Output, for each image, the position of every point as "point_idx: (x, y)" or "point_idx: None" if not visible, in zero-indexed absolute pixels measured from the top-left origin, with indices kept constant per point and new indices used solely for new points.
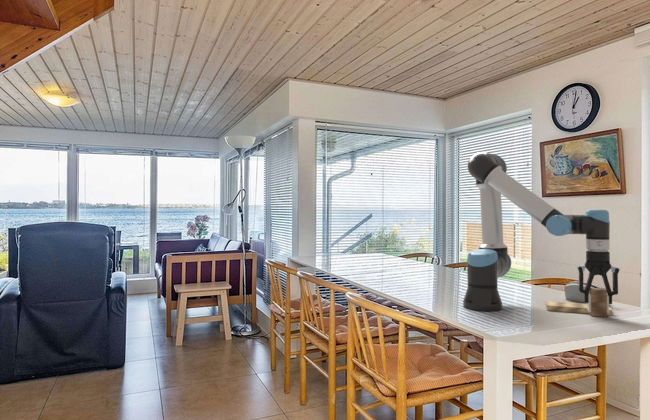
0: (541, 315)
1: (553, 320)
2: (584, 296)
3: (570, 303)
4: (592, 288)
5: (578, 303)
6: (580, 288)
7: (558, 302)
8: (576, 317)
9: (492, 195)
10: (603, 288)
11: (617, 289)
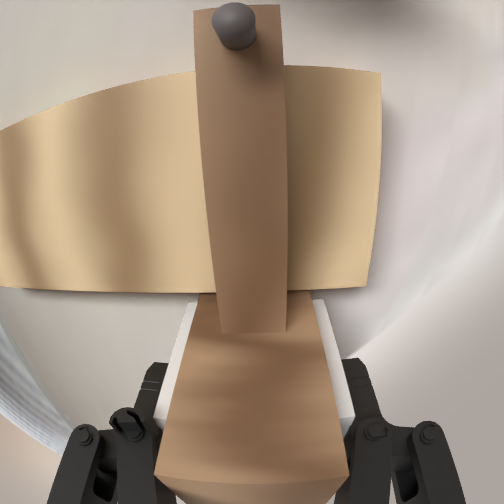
0: (42, 363)
1: (97, 412)
2: (139, 407)
3: (58, 144)
4: (195, 495)
5: (112, 102)
6: (100, 480)
7: (2, 159)
8: None
9: None
10: (329, 482)
11: (418, 487)
